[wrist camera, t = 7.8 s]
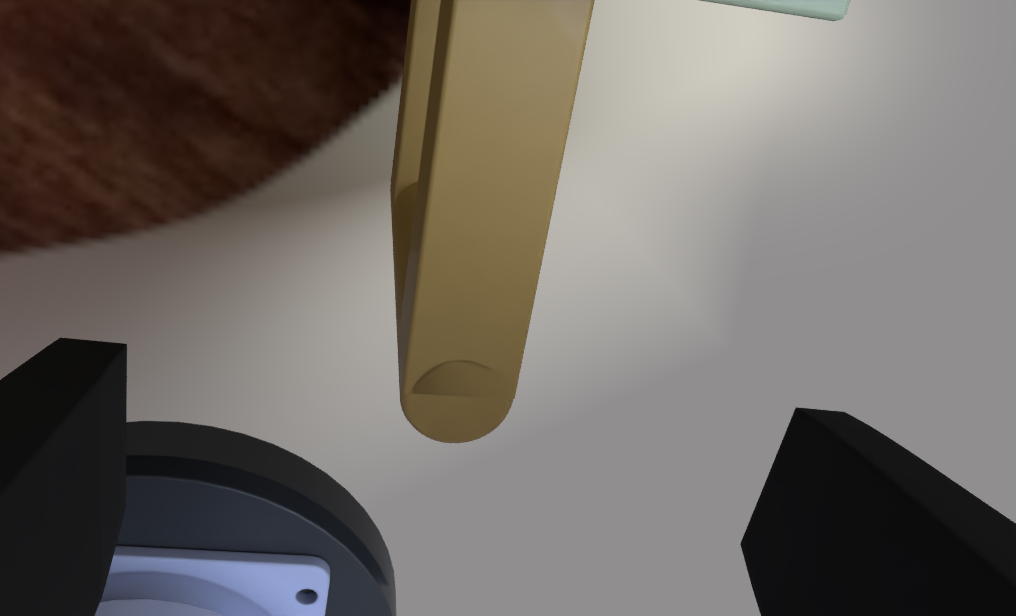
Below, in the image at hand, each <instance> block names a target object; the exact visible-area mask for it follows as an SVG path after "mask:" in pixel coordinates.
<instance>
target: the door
mask: <svg viewBox="0 0 1016 616" xmlns="http://www.w3.org/2000/svg"><path fill="white" fill-rule="evenodd" d="M701 1H708V2H714V3H720V4H726V5H733V6H739V7H746V8H752V9H759V10H765V11H772V12H778V13H785V14H791V15H798V16H804V17H810V18H817V19H823V20H830V21H836V20H841V19H843V18H844V16H845V15H846V12H847V10H848V6H849V3H850V0H701ZM593 5H594V0H411V7H410V15H409V24H408V33H407V42H406V51H405V60H404V69H403V78H402V87H401V96H400V105H399V114H398V124H397V132H396V141H395V150H394V160H393V168H392V177H391V209H392V210H391V211H392V232H393V255H394V277H395V299H396V319H397V342H398V363H399V386H400V402H401V407H402V410H403V412H404V415H405V417H406V418H407V420H408V421H409V422H410V423H411V424H412V426H413V427H414V428H415V429H416V430H418V431H419V432H420V433H421V434H423V435H425V436H426V437H429V438H431V439H433V440H436V441H440V442H445V443H462V442H469V441H472V440H475V439H479V438H481V437H483V436H485V435H487V434H488V433H490V432H491V431H493V430H494V429H495V428H497V426H499V425H500V423H501V422H502V421H503V420H504V419H505V417H506V415H507V414H508V412H509V409H510V408H511V405H512V402H513V399H514V398H515V393H516V388H517V383H518V378H519V373H520V368H521V363H522V358H523V353H524V348H525V343H526V338H527V333H528V328H529V323H530V318H531V313H532V308H533V303H534V298H535V293H536V289H537V284H538V278H539V274H540V269H541V264H542V259H543V253H544V249H545V243H546V239H547V234H548V229H549V224H550V219H551V214H552V209H553V204H554V199H555V194H556V189H557V184H558V179H559V174H560V169H561V164H562V159H563V154H564V149H565V144H566V139H567V134H568V129H569V124H570V119H571V114H572V109H573V104H574V99H575V94H576V89H577V84H578V79H579V74H580V70H581V65H582V60H583V55H584V50H585V45H586V40H587V34H588V30H589V25H590V20H591V15H592V10H593Z"/></svg>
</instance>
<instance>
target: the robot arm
mask: <svg viewBox="0 0 1016 616" xmlns="http://www.w3.org/2000/svg"><path fill="white" fill-rule="evenodd" d="M126 371H127V344H122V343H111V342H101V341H90V340H79V339H69V338H59V339H58V340H56V341H55V342H53V343H52V344H50V345H49V346H47V347H46V348H45V349H43V350H42V351H40V352H39V353H38V354H36V355H35V356H33V357H32V358H31V359H29V360H28V361H26V362H25V363H23V364H22V365H21V366H19V367H18V368H17V369H15V370H14V371H12V372H11V373H9V374H8V375H7V376H5V377H4V378H2V379H1V380H0V616H325V611H326V604H327V597H328V590H329V583H330V567H329V565H328V564H327V562H326V561H325V560H323V559H321V558H319V557H315V556H305V555H286V554H267V553H248V552H229V551H210V550H190V549H171V548H152V547H133V546H116V543H117V539H118V535H119V531H120V527H121V523H122V519H123V515H124V511H125V508H126V383H127V376H126V375H127V372H126ZM741 548H742V551H743V555H744V559H745V562H746V566H747V570H748V573H749V577H750V580H751V584H752V588H753V591H754V594H755V598H756V601H757V604H758V607H759V610H760V613H761V616H1016V523H1014V522H1013V521H1011V520H1010V519H1008V518H1007V517H1005V516H1004V515H1002V514H1001V513H999V512H998V511H996V510H995V509H993V508H992V507H990V506H988V504H986V503H985V502H983V501H982V500H980V499H979V498H977V497H976V496H974V495H973V494H971V493H970V492H969V491H967V490H966V489H964V488H963V487H961V486H960V485H958V484H957V483H955V482H954V481H952V480H951V479H950V478H948V477H947V476H945V475H944V474H942V473H941V472H939V471H938V470H936V469H935V468H933V467H932V466H931V465H929V464H927V463H926V462H925V461H923V460H922V459H920V458H919V457H917V456H916V455H914V454H913V453H911V452H910V451H908V450H907V449H905V448H904V447H902V446H901V445H899V444H898V443H896V442H894V441H893V440H891V439H890V438H888V437H887V436H885V435H884V434H882V433H880V432H879V431H877V430H876V429H874V428H872V427H871V426H869V425H867V424H865V423H864V422H862V421H860V420H858V419H856V418H855V417H853V416H851V415H849V414H847V413H845V412H838V411H828V410H817V409H807V408H796V409H795V411H794V413H793V416H792V419H791V421H790V423H789V426H788V428H787V431H786V433H785V436H784V438H783V440H782V443H781V445H780V448H779V450H778V453H777V455H776V458H775V460H774V463H773V465H772V468H771V470H770V472H769V475H768V478H767V480H766V482H765V485H764V487H763V490H762V492H761V495H760V497H759V500H758V502H757V504H756V507H755V510H754V512H753V514H752V517H751V519H750V522H749V524H748V527H747V529H746V532H745V534H744V536H743V539H742V541H741ZM303 589H311V590H314V591H313V592H307V593H306V592H302V591H300V590H303Z"/></svg>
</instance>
